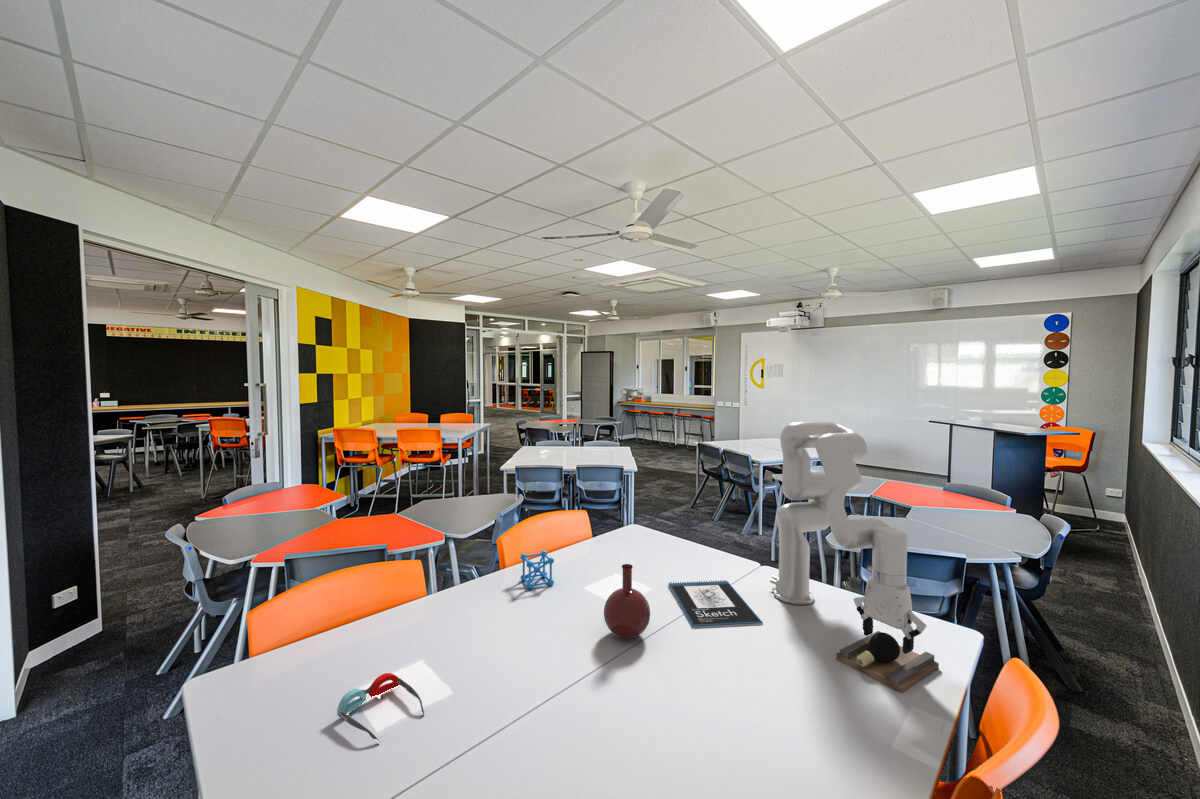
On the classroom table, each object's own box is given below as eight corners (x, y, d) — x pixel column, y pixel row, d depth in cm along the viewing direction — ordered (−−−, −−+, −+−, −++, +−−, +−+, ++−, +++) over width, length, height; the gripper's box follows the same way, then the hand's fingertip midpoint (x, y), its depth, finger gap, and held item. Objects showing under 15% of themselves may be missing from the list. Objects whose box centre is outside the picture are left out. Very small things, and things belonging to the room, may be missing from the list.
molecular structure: (519, 580, 174) (519, 553, 174) (545, 575, 178) (545, 549, 178) (527, 591, 165) (527, 562, 165) (555, 586, 169) (555, 558, 169)
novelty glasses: (395, 687, 113) (394, 666, 113) (432, 713, 104) (431, 691, 104) (333, 720, 102) (333, 697, 102) (369, 753, 93) (369, 728, 93)
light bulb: (859, 646, 118) (893, 626, 122) (843, 649, 123) (876, 629, 127) (877, 676, 115) (911, 654, 119) (859, 676, 120) (892, 656, 124)
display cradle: (836, 659, 125) (836, 647, 125) (874, 639, 134) (874, 629, 134) (901, 693, 111) (901, 680, 111) (938, 668, 121) (938, 657, 121)
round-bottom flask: (595, 640, 133) (595, 569, 133) (616, 620, 145) (616, 554, 144) (639, 653, 127) (639, 579, 127) (656, 630, 139) (657, 562, 138)
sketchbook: (692, 630, 140) (692, 623, 140) (667, 586, 170) (667, 580, 170) (762, 626, 143) (762, 619, 143) (726, 583, 173) (726, 578, 172)
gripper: (847, 568, 127) (846, 631, 128) (918, 593, 113) (916, 664, 113) (863, 563, 131) (861, 624, 132) (933, 586, 117) (931, 654, 117)
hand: (887, 642), depth 123 cm, fingers open, 9 cm apart
